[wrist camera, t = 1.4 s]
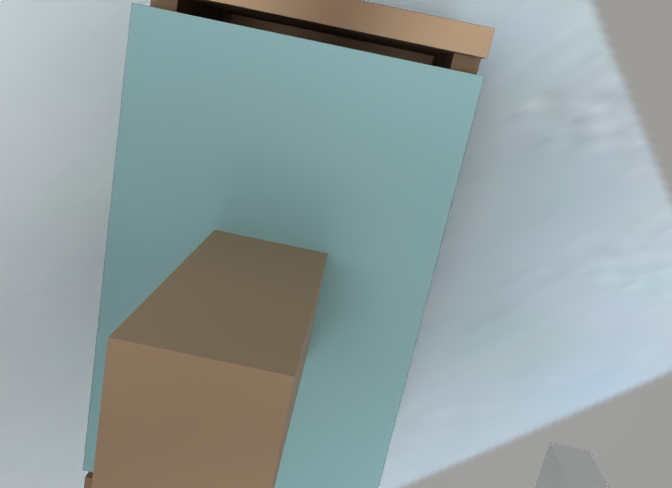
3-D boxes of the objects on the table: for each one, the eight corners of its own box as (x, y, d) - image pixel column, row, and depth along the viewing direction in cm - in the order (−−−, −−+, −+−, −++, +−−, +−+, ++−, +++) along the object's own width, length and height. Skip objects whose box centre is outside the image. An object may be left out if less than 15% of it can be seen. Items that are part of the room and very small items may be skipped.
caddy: (165, 375, 32) (83, 496, 23) (219, -9, 27) (141, -46, 18) (364, 417, 32) (359, 555, 23) (455, 40, 27) (494, 28, 18)
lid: (100, 445, 24) (-75, 686, 14) (150, 7, 19) (-55, -44, 10) (367, 502, 23) (361, 781, 14) (476, 75, 19) (564, 85, 10)
